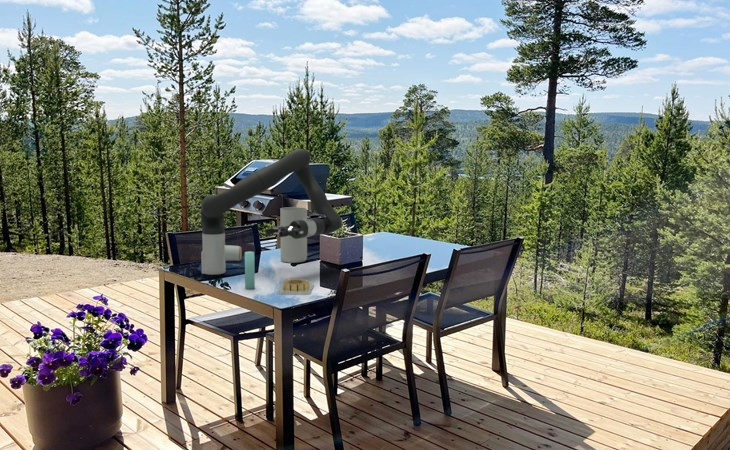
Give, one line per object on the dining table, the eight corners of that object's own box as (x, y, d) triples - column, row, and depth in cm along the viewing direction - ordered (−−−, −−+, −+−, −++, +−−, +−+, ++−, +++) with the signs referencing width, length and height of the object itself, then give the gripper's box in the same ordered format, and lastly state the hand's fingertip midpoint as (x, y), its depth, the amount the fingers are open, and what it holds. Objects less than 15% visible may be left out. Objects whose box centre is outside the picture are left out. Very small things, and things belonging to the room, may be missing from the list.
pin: (244, 289, 208) (243, 253, 206) (246, 286, 212) (245, 251, 210) (253, 289, 208) (253, 253, 206) (255, 286, 212) (255, 251, 210)
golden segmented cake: (277, 293, 202) (277, 286, 202) (283, 285, 215) (283, 277, 215) (309, 294, 202) (309, 286, 202) (313, 285, 215) (313, 278, 214)
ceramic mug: (240, 262, 255) (240, 246, 254) (223, 262, 254) (222, 246, 253) (242, 258, 265) (242, 242, 264) (225, 258, 264) (225, 242, 263)
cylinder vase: (291, 256, 270) (291, 206, 266) (312, 259, 263) (312, 208, 260) (275, 261, 259) (274, 208, 255) (296, 264, 253) (296, 210, 249)
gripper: (291, 218, 232) (261, 222, 219) (314, 221, 222) (284, 225, 210) (291, 235, 233) (261, 240, 221) (314, 239, 223) (284, 244, 211)
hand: (272, 233), depth 215 cm, fingers open, 8 cm apart
